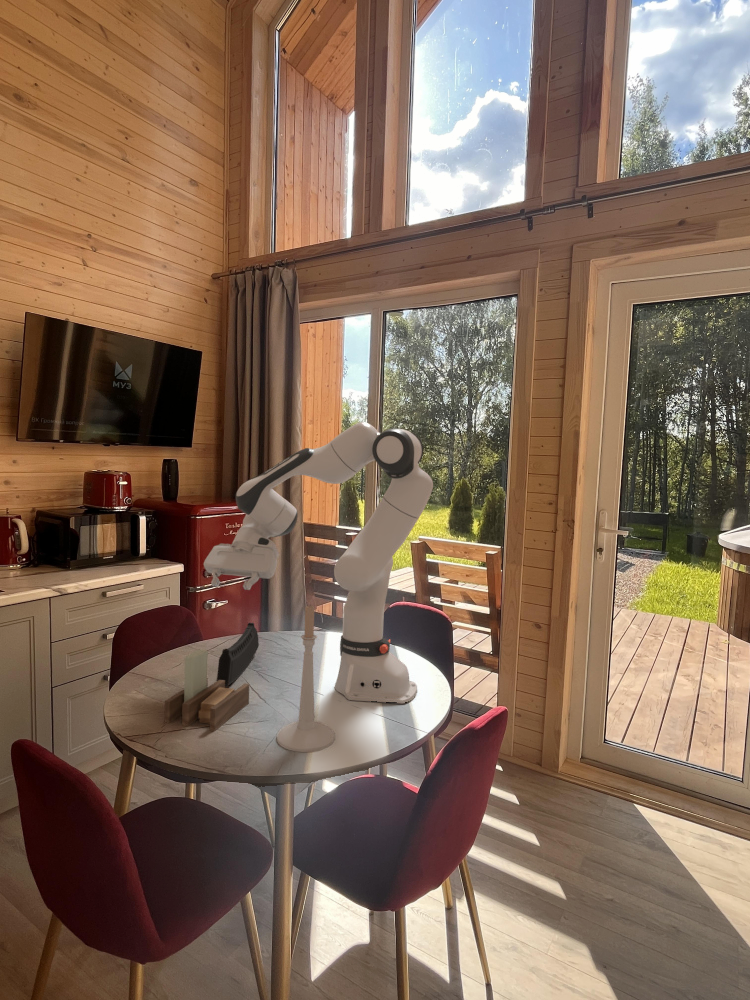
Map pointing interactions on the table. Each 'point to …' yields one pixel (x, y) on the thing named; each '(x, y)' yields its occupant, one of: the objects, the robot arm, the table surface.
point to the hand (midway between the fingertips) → (230, 587)
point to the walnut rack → (217, 712)
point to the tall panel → (195, 673)
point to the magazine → (238, 656)
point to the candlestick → (306, 704)
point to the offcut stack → (212, 703)
